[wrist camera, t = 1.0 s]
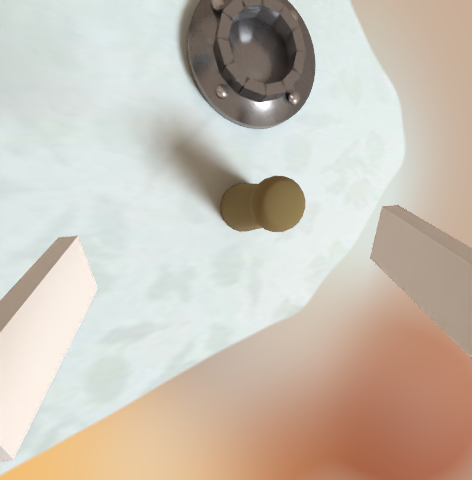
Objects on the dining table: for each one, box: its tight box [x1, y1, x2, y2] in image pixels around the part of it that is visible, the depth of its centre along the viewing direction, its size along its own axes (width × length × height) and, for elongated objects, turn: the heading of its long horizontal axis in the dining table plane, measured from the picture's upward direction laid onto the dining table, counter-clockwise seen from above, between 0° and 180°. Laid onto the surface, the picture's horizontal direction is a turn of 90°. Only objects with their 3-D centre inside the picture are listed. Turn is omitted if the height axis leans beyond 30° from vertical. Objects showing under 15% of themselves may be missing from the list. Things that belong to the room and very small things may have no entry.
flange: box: [187, 0, 315, 129], centre depth 32 cm, size 16×16×3 cm
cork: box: [221, 176, 305, 232], centre depth 29 cm, size 6×6×11 cm
